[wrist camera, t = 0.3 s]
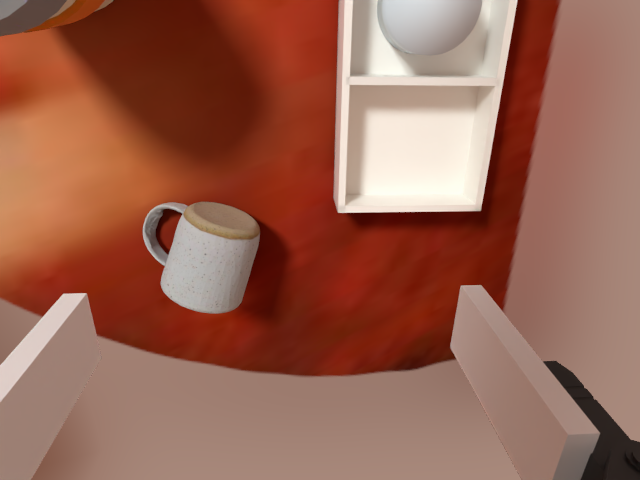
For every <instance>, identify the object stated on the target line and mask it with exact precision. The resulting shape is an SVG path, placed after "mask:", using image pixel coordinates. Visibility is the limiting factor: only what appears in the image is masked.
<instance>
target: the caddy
mask: <svg viewBox="0 0 640 480" xmlns="http://www.w3.org/2000/svg"><path fill="white" fill-rule="evenodd" d="M377 2H378V0H339V12H338V49H337V86H336V123H335V160H334V196H333V198H334V202H335V205H336V208H337V211H338V213H363V212H442V211H481V207H482V201H483V196H484V190H485V184H486V178H487V173H488V167H489V161H490V155H491V150H492V144H493V138H494V132H495V127H496V121H497V115H498V110H499V104H500V98H501V92H502V87H503V81H504V75H505V69H506V64H507V58H508V52H509V46H510V41H511V35H512V29H513V23H514V18H515V12H516V6H517V0H482V7H481V12H480V15H479V18H478V20H477V22H476V25H475V26H474V28H473V30H472V31H471V33H470V34H469V35H468V37H467V38H466V39H465V40H464V41H463V42H462V43H461V44H459V45H458V46H457V47H455V48H454V49H452V50H450V51H448V52H446V53H443V54H439V55H430V56H429V55H416V54H408V53H404V52H402V51H399V50H398V49H396V48H395V47H393V46H392V45H391V44H390V43H389V42H388V41H387V40H386V38H385V37H384V35H383V33H382V31H381V29H380V26H379V23H378V18H377Z"/></svg>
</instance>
